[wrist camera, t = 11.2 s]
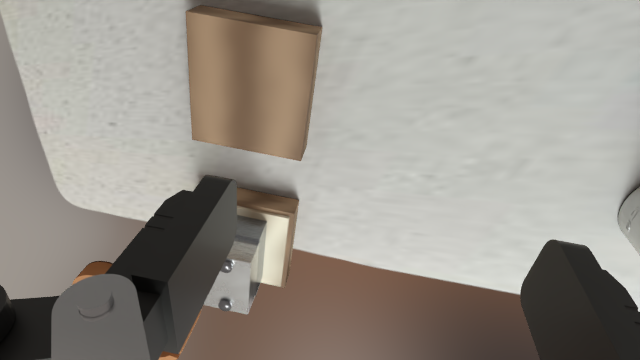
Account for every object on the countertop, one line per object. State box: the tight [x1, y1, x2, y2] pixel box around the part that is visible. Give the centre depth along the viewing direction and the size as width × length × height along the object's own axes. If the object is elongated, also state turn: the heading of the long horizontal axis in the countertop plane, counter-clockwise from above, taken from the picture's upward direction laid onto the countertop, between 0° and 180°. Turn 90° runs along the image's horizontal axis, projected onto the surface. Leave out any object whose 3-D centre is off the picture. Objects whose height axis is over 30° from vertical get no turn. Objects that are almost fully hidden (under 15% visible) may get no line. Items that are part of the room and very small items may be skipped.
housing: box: [204, 215, 267, 314], centre depth 43 cm, size 5×9×6 cm, turn 172°
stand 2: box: [237, 187, 299, 288], centre depth 47 cm, size 11×12×3 cm
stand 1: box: [186, 5, 322, 161], centre depth 37 cm, size 11×12×3 cm
